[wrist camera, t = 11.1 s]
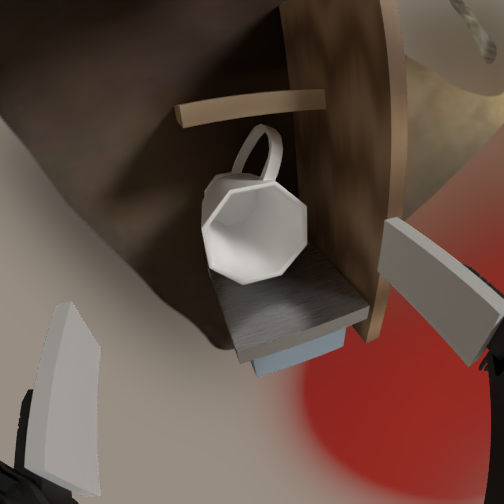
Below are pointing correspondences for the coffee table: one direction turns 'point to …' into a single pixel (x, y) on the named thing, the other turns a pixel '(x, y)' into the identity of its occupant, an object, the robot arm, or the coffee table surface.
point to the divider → (248, 105)
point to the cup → (252, 218)
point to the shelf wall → (350, 134)
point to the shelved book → (298, 353)
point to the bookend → (287, 306)
